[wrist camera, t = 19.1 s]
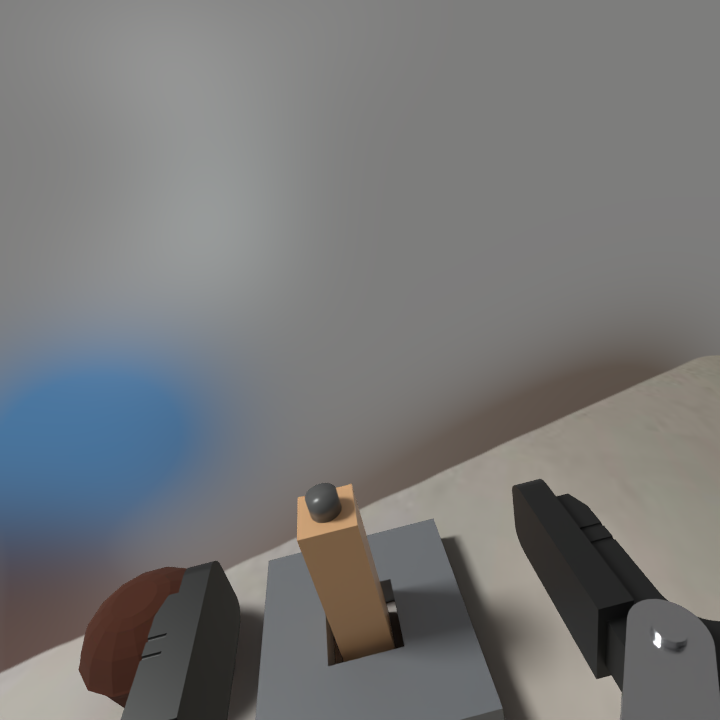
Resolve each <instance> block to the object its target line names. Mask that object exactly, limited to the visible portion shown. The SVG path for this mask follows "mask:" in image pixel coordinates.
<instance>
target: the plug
mask: <svg viewBox="0 0 720 720" xmlns="http://www.w3.org/2000/svg"><path fill="white" fill-rule="evenodd" d="M297 522H298V523H297V542H298V544H299V547H300V549H301V552H302V555H303V557H304V560H305V562H306V565H307V568H308V570H309V573H310V575H311V578H312V581H313V583H314V586H315V588H316V591H317V593H318V596H319V599H320V601H321V604H322V606H323V609H324V612H325V614H326V617H327V619H328V622H329V625H330V627H331V630H332V632H333V635H334V637H335V640H336V643H337V645H338V648H339V650H340V653H341V656H342V658H343V661H344V662H347V661H351V660H355V659H358V658H362V657H366V656H370V655H374V654H377V653H381V652H385V651H389V650H393V649H396V648H395V643H394V638H393V632H392V627H391V622H390V617H389V612H388V608H387V605H386V601H385V598H384V594H383V591H382V587H381V584H380V581H379V577H378V574H377V570H376V567H375V563H374V560H373V556H372V553H371V549H370V546H369V543H368V539H367V536H366V532H365V529H364V525H363V522H362V518H361V515H360V512H359V508H358V505H357V501H356V498H355V495H354V491H353V487H352V484H349V485H346V486H342V487H338V488H335V486H334V485H332V484H329V483H322V484H318V485H315V486H314V487H312V488H311V489H309V490H308V492H307V493H306V495H305V496H302V497H298V518H297Z"/></svg>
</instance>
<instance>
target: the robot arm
mask: <svg viewBox="0 0 720 720" xmlns="http://www.w3.org/2000/svg"><path fill="white" fill-rule="evenodd" d="M512 494H513V505H514V517H515V527H516V532H517V536H518V539H519V541H520V544H521V546H522V548H523V550H524V552H525V554H526V556H527V558H528V559H529V561H530V563H531V565H532V566H533V568H534V570H535V572H536V573H537V575H538V577H539V579H540V580H541V582H542V584H543V586H544V587H545V589H546V591H547V593H548V595H549V596H550V598H551V600H552V602H553V603H554V605H555V607H556V609H557V610H558V612H559V614H560V616H561V617H562V619H563V621H564V623H565V624H566V626H567V628H568V630H569V631H570V633H571V635H572V637H573V639H574V640H575V642H576V644H577V646H578V647H579V649H580V651H581V653H582V654H583V656H584V658H585V660H586V661H587V663H588V665H589V667H590V668H591V670H592V672H593V674H594V675H595V677H596V679H599V678H602V677H606V676H610V675H612V677H613V678H614V680H615V682H616V683H617V685H618V687H619V688H620V690H621V692H622V698H621V715H620V720H720V621H711V620H706V619H702V618H699V617H697V616H695V615H694V614H693V613H691V612H690V611H688V610H687V609H685V608H684V607H682V606H680V605H677V604H675V603H672V602H669V601H668V600H667V599H665V598H664V597H663V596H662V595H661V594H660V593H659V592H658V590H657V589H656V588H655V587H654V586H653V584H652V583H651V582H650V581H649V579H648V578H647V577H646V576H645V575H644V573H643V572H642V571H641V570H640V569H639V567H638V566H637V565H636V564H635V563H634V561H633V560H632V559H631V558H630V557H629V555H628V554H627V553H626V552H625V551H624V549H623V548H622V547H621V546H620V545H619V543H618V542H617V541H616V540H614V539H613V537H612V535H611V534H610V532H609V531H608V530H607V529H606V528H605V526H602V524H601V522H600V520H599V519H598V518H597V517H596V516H595V514H594V513H593V512H592V511H591V510H590V508H589V507H588V506H587V505H585V504H584V503H582V502H581V501H579V500H577V499H576V498H574V497H573V496H571V495H569V494H565V495H561V496H557V497H556V496H555V495H554V493H553V492H552V491H551V489H550V488H549V487H548V485H547V484H546V483H545V482H544V481H543V480H542V479H538V480H534V481H530V482H526V483H522V484H518V485H514V486H513V487H512ZM239 628H240V607H239V602H238V599H237V596H236V594H235V592H234V590H233V588H232V586H231V584H230V582H229V581H228V579H227V577H226V575H225V573H224V571H223V569H222V567H221V565H220V563H219V562H218V561H214V562H209V563H205V564H202V565H198V566H194V567H190V568H187V569H186V571H185V573H184V575H183V579H182V582H181V586H180V589H179V592H178V593H175V594H171V595H168V597H167V598H166V600H165V601H164V603H163V604H162V606H161V607H160V609H159V610H158V612H157V613H156V615H155V616H154V620H153V623H152V626H151V629H150V632H149V635H148V642H146V644H145V647H144V650H143V653H142V656H141V657H142V661H140V662H139V665H138V668H137V672H136V675H135V678H134V681H133V684H132V687H131V690H130V693H129V696H128V699H127V702H126V705H125V708H124V711H123V714H122V717H121V720H227V716H228V708H229V701H230V694H231V686H232V679H233V672H234V664H235V657H236V650H237V642H238V635H239Z"/></svg>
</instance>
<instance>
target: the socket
mask: <svg viewBox="0 0 720 720" xmlns="http://www.w3.org/2000/svg"><path fill="white" fill-rule="evenodd" d="M367 539H368V543H369V546H370V549H371V553H372V556H373V560H374V563H375V567H376V570H377V574H378V577H379V581H380V584H381V587H382V591H383V594H384V598H385V601H386V602H389V601H392V600H395V603H396V608H397V613H398V617H399V622H400V627H401V632H402V637H403V641H404V647H400V648H397V649H393V650H389V651H385V652H381V653H377V654H374V655H370V656H366V657H362V658H358V659H355V660H351V661H347V662H343V663H339V664H335V652H334V637H333V632H332V630H331V627H330V625H329V622H328V619H327V617H326V614H325V612H324V609H323V606H322V604H321V601H320V599H319V596H318V593H317V591H316V588H315V586H314V583H313V581H312V578H311V575H310V573H309V570H308V568H307V565H306V562H305V560H304V557H303V555H302V552H301V553H297V554H294V555H290V556H286V557H282V558H278V559H274V560H270V561H269V566H268V577H267V589H266V601H265V612H264V624H263V636H262V648H261V659H260V671H259V683H258V694H257V706H256V718H255V720H504V713H503V708H502V705H501V702H500V699H499V697H498V694H497V691H496V688H495V686H494V683H493V680H492V677H491V675H490V672H489V669H488V667H487V664H486V661H485V658H484V656H483V653H482V650H481V647H480V645H479V642H478V639H477V637H476V634H475V631H474V628H473V626H472V623H471V620H470V617H469V615H468V612H467V609H466V606H465V604H464V601H463V598H462V596H461V593H460V590H459V587H458V585H457V582H456V579H455V576H454V574H453V571H452V568H451V566H450V563H449V560H448V557H447V555H446V552H445V549H444V546H443V544H442V541H441V538H440V535H439V533H438V530H437V527H436V525H435V522H434V519H430V520H426V521H422V522H418V523H414V524H410V525H406V526H403V527H399V528H395V529H391V530H387V531H383V532H379V533H375V534H371V535H368V536H367Z"/></svg>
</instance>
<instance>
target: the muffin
mask: <svg viewBox="0 0 720 720" xmlns="http://www.w3.org/2000/svg"><path fill="white" fill-rule="evenodd" d="M185 571H186V568H176V567H164V568H161V569H157V570H153V571H149V572H146V573H143V574H141V575H139V576H138V577H136V578H134V579H133V580H130V581H129V582H127V583H125V584H123V585H122V586H121V587H120V588H119V589H118V590H117V591H115V592H114V593H113V594H112V595H111V596H110V597H109V598H108V599H107V600H105V601H104V602H103V603H102V605H101V606H100V608H99V609H98V611H97V612H96V614H95V615H94V617H93V618H92V620H91V622H90V623H89V624H88V627H87V629H86V632H85V637H84V642H83V646H82V651H81V659H80V666H79V672H80V674H81V676H82V678H83V681H84V683H85V685H86V687H87V689H88V691H92V692H95V693H99V694H102V695H105V696H107V697H109V698H110V699H112V700H113V701H115V702H116V703H118V704H119V705H121V706H122V707H124V708H125V705H126V702H127V699H128V696H129V693H130V690H131V687H132V684H133V681H134V678H135V675H136V672H137V668H138V665H139V662H140V661H142V657H141V656H142V653H143V650H144V647H145V644H146V642H148V635H149V632H150V629H151V626H152V623H153V620H154V616H155V615H156V613H157V612H158V610H159V609H160V607H161V606H162V604H163V603H164V601H165V600H166V598H167V597H168V595H171V594H175V593H178V592H179V589H180V586H181V582H182V579H183V575H184V573H185Z"/></svg>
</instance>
